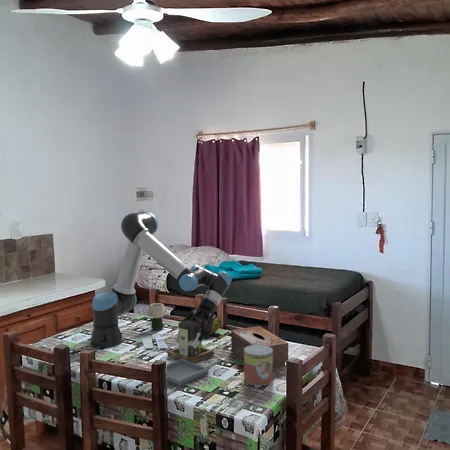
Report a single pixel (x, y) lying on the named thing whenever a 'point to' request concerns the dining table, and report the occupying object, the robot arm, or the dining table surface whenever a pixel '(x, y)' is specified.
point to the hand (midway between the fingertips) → (185, 344)
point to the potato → (215, 326)
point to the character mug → (157, 315)
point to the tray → (184, 372)
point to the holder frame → (205, 354)
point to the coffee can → (189, 338)
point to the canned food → (258, 365)
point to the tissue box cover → (259, 343)
